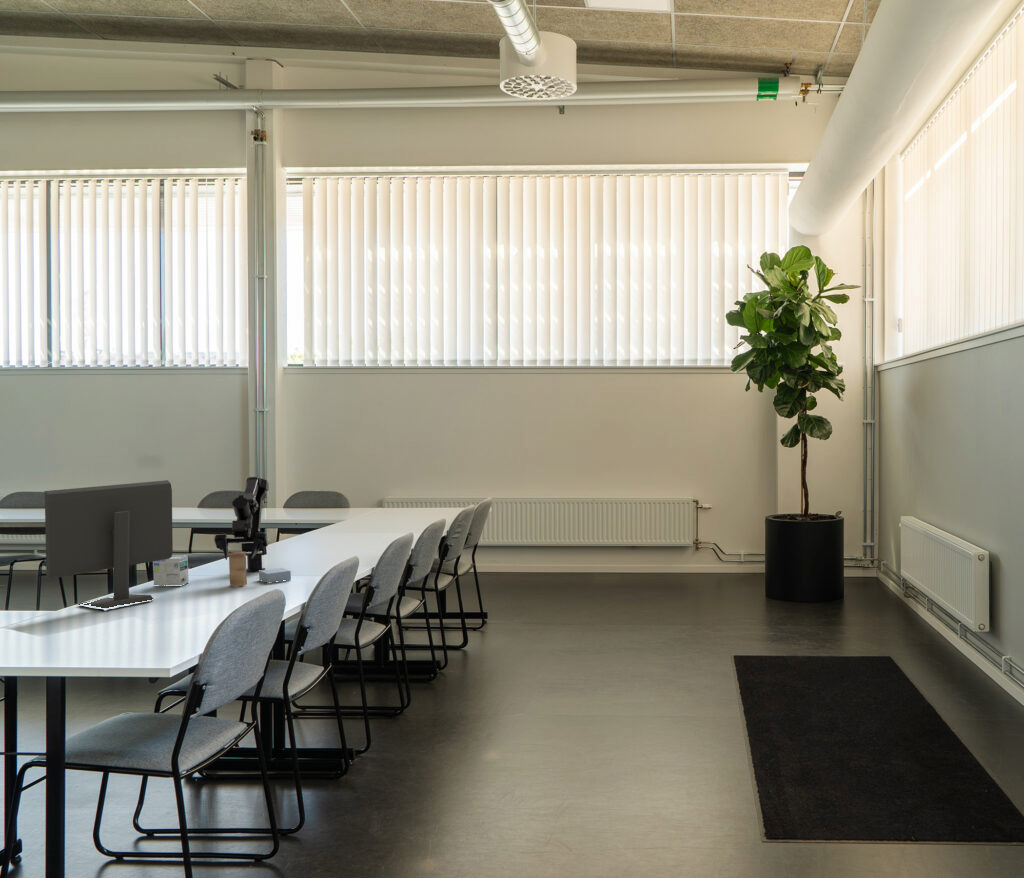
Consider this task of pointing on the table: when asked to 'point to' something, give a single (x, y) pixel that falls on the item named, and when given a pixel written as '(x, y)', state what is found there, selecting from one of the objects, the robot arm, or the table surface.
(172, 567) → the light bulb box
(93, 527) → the computer monitor
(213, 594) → the table surface
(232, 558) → the walnut pillar
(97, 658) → the table surface
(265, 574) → the slate-blue block
